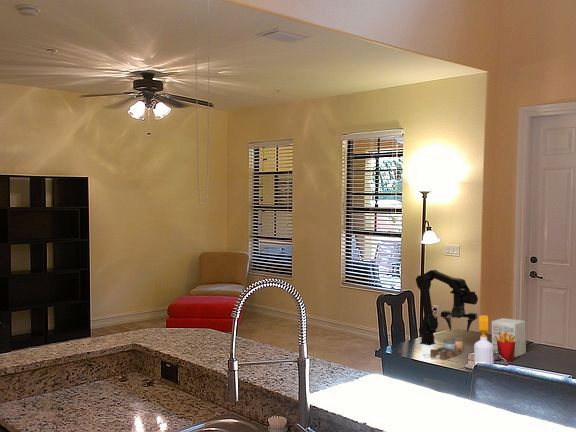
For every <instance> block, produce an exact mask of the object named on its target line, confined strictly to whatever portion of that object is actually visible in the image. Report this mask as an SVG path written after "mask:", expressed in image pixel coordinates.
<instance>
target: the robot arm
mask: <svg viewBox="0 0 576 432" xmlns="http://www.w3.org/2000/svg"><path fill="white" fill-rule="evenodd" d="M433 280H438V281H439V282H442V283H444V284H446V285H448V286H449V288H451V289H452V290H451V291H450V294H453V305H452V309H451V311H450V310H442V311H441V312H440V317H441V318H443V320H445V321H446V323H447V325H448V329H449V331H452V318H453V319H455V318H457V319H461V318H467V325H466V326H467V327H466V332H469V330H470V328H471V325H472V323H473V322H474V321H476V320H478V318H479V315H478V313H477V312H469V313H466V309H465V306H466V305H465V304H467V305H476V304H478V301H479V300H478V299H479V298H478V296H477V294H476V291H471V290H470V288H469V286H468V285H467V282H466V280H465V279H463V278H460V277H459V278H457V277H453V276H449V275H448V274H445V273H442V272H440V271H438V270H436V269H432V270H428V271H427V272H425V273H423V274H420V275H418V276H416V278H415V283H416V286H417V288H418V289H419V291H420V295H421V297H420V298H421V303H422V308H423V317H422V318H423V319H422V320H421V321H422V322H421V324H422V325H421V326H420V328H419V329H418V333H419V334H420V336H421V337H420V339H421V341H420V342H419V344H423V345H427V346H431V345H434V344H436V342H435V336H434V335H435V334H434V333H436V332H437V329H438V328H439V327H438V326H439V322H438V317H435V315H434V313H433V306H432V300H431V299H432V298H431V293H430V288H431V285H432V281H433Z"/></svg>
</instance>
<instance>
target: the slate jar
mask: <svg viewBox="0 0 576 432" xmlns="http://www.w3.org/2000/svg"><path fill="white" fill-rule="evenodd" d="M443 343H444V344H443V345H444V346H443V347H444V348H449V349H452V351H453V350H455V340H452V339H444V340H443Z"/></svg>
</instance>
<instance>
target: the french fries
mask: <svg viewBox="0 0 576 432" xmlns="http://www.w3.org/2000/svg"><path fill="white" fill-rule="evenodd" d="M506 336H508V338H507V339H506ZM511 336H512V334H510V337H509V334H508V333H507V332H505V333H504V334H502V336H501V331H499V338H500V340H499V339H498V338H497V336H496V335H495V338H496V339H497V340H498V341H497V347H498V354H499V355H501V356H502V357H503V358H504V359H505V360H507V361H511V362H514V358H515V357H514V350H515V342H514V339H515V336H513V337H512V338H511ZM498 354H497V355H498Z"/></svg>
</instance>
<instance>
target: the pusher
mask: <svg viewBox="0 0 576 432" xmlns="http://www.w3.org/2000/svg"><path fill="white" fill-rule="evenodd" d="M443 347H444V346H441V347H439V348H440V351H444V352H445V353H447V352H450V351H452V349H449V348H443ZM439 354H440V352H439Z"/></svg>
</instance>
